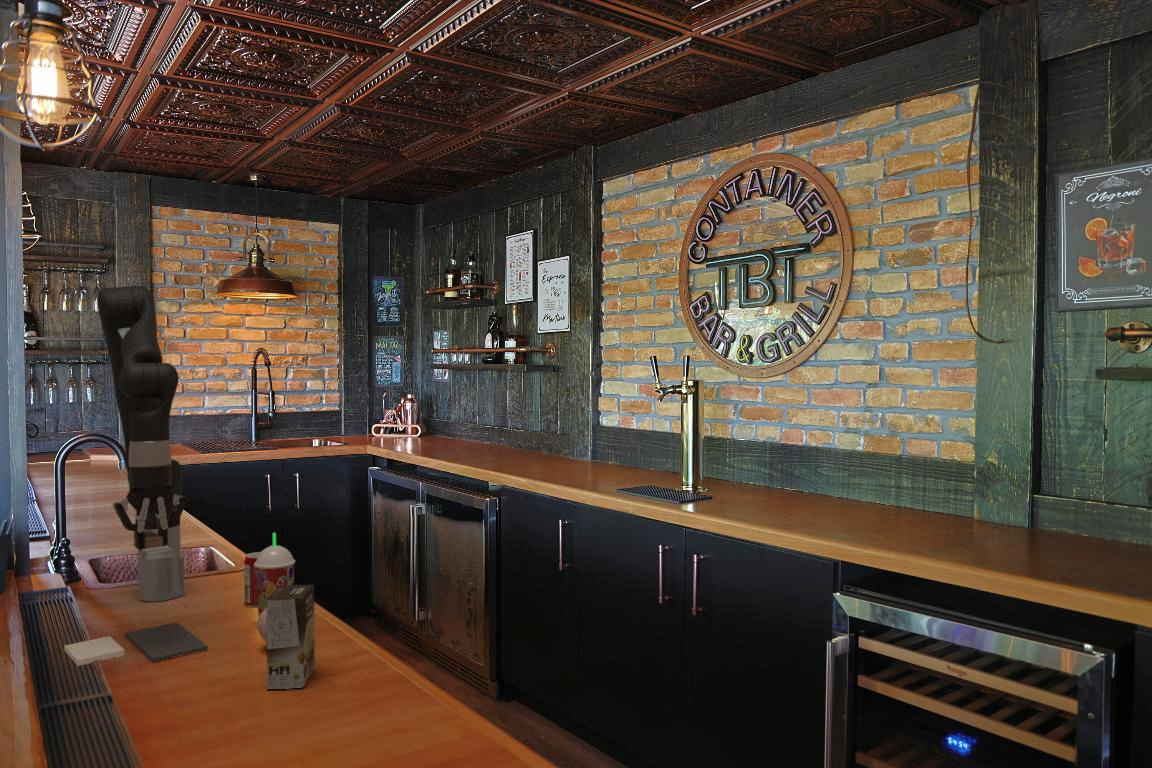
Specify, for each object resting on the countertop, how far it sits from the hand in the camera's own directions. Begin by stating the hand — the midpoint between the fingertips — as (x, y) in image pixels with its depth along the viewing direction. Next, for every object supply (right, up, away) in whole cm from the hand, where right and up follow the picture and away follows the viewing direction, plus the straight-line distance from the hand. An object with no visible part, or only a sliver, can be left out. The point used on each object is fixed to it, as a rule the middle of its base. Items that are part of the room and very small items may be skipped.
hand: (151, 548), depth 167 cm
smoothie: (+20, -19, +13) cm, 31 cm away
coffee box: (+34, -20, -17) cm, 43 cm away
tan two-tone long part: (0, -1, 0) cm, 1 cm away
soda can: (+10, -19, +28) cm, 36 cm away
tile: (-13, -19, +1) cm, 23 cm away
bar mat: (+2, -20, +2) cm, 20 cm away
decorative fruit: (+26, -20, -1) cm, 33 cm away
